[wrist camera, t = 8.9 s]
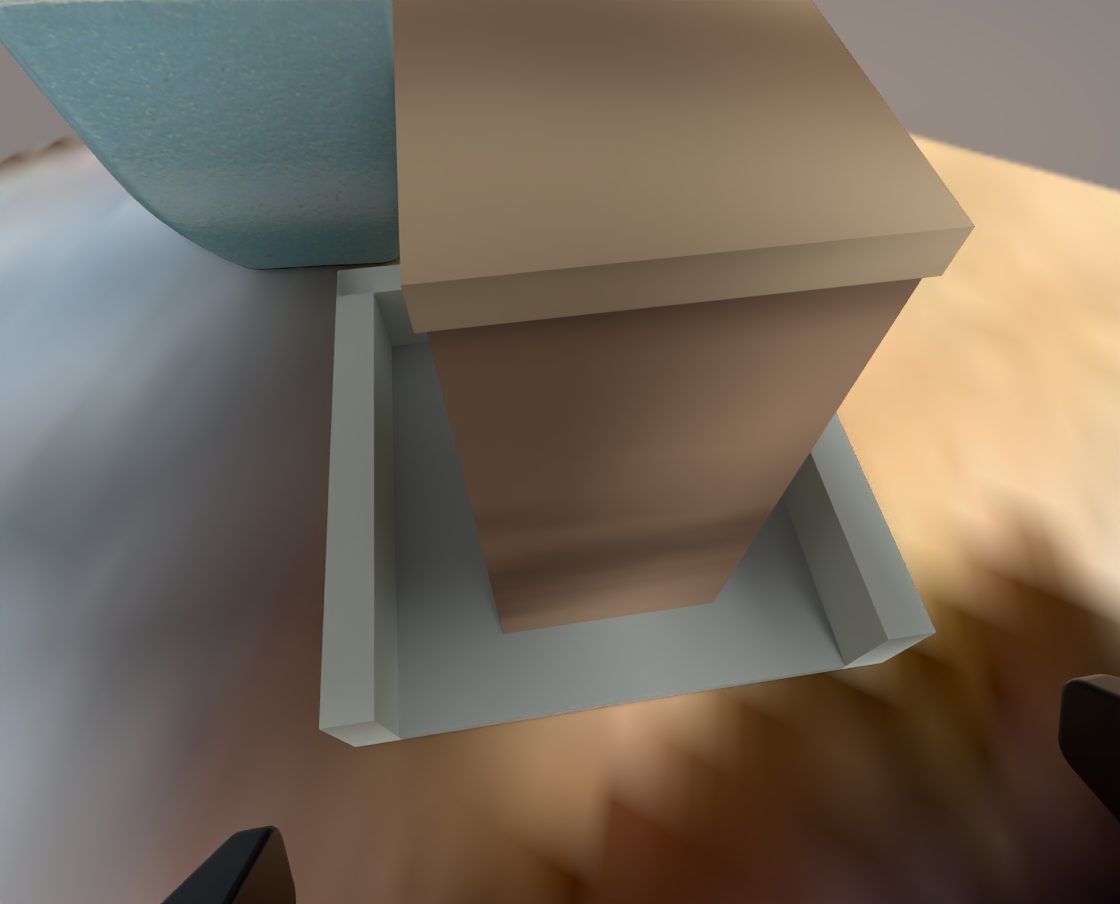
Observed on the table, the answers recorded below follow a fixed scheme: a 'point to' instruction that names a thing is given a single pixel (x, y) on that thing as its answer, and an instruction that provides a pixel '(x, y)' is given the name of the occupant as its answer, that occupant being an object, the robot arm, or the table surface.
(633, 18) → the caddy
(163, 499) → the table surface
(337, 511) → the bay
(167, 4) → the flower pot
